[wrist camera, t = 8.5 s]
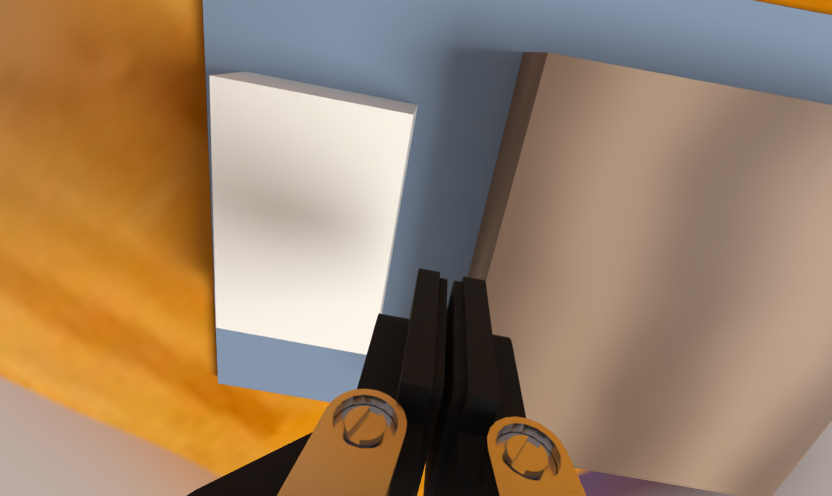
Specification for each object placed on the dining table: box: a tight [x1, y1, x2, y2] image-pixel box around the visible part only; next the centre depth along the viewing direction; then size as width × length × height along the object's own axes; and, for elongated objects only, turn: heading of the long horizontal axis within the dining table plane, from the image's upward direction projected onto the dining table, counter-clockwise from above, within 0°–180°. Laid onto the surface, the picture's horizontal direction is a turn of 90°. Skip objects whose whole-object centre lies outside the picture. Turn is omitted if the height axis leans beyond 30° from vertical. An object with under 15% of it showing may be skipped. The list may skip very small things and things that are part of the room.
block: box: [468, 52, 832, 496], centre depth 15 cm, size 13×14×4 cm
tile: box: [209, 71, 418, 355], centre depth 16 cm, size 6×9×2 cm, turn 170°
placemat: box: [203, 0, 832, 402], centre depth 17 cm, size 24×19×1 cm
